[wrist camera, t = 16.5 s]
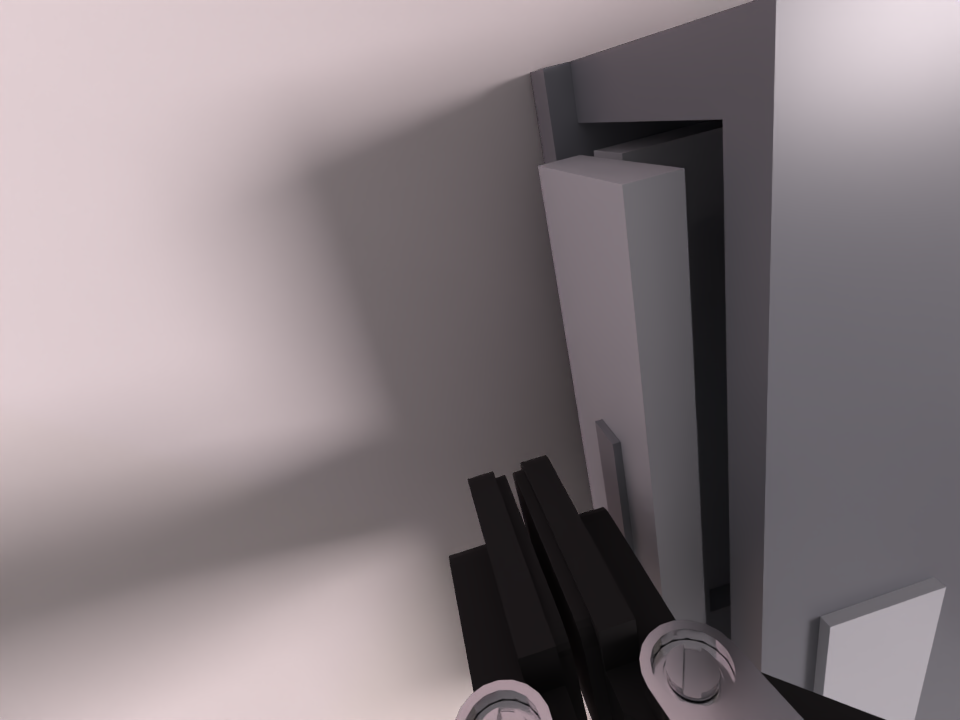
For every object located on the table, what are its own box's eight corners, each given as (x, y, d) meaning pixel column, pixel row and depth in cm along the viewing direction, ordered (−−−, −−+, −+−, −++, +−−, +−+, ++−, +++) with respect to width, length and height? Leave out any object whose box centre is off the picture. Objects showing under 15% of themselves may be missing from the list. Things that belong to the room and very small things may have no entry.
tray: (1065, 483, 16) (1238, 570, 13) (608, 637, 15) (673, 776, 12) (1233, -15, 11) (1608, -77, 7) (528, 167, 10) (609, 187, 6)
